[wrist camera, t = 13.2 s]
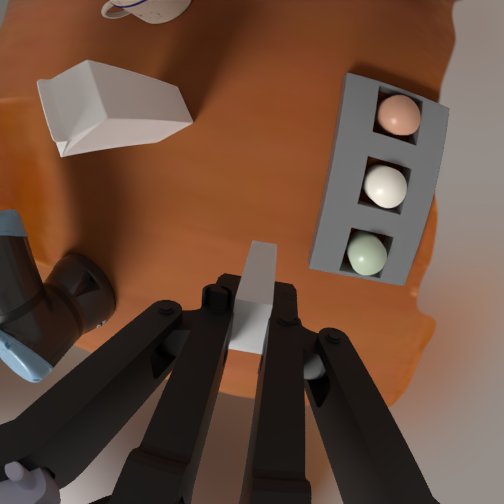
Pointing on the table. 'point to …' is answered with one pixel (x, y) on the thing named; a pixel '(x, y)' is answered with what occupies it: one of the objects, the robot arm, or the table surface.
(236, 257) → the table surface
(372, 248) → the button sage
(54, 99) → the milk
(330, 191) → the button panel
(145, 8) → the teacup with lid
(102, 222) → the table surface
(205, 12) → the table surface
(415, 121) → the button terracotta
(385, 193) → the button cream
